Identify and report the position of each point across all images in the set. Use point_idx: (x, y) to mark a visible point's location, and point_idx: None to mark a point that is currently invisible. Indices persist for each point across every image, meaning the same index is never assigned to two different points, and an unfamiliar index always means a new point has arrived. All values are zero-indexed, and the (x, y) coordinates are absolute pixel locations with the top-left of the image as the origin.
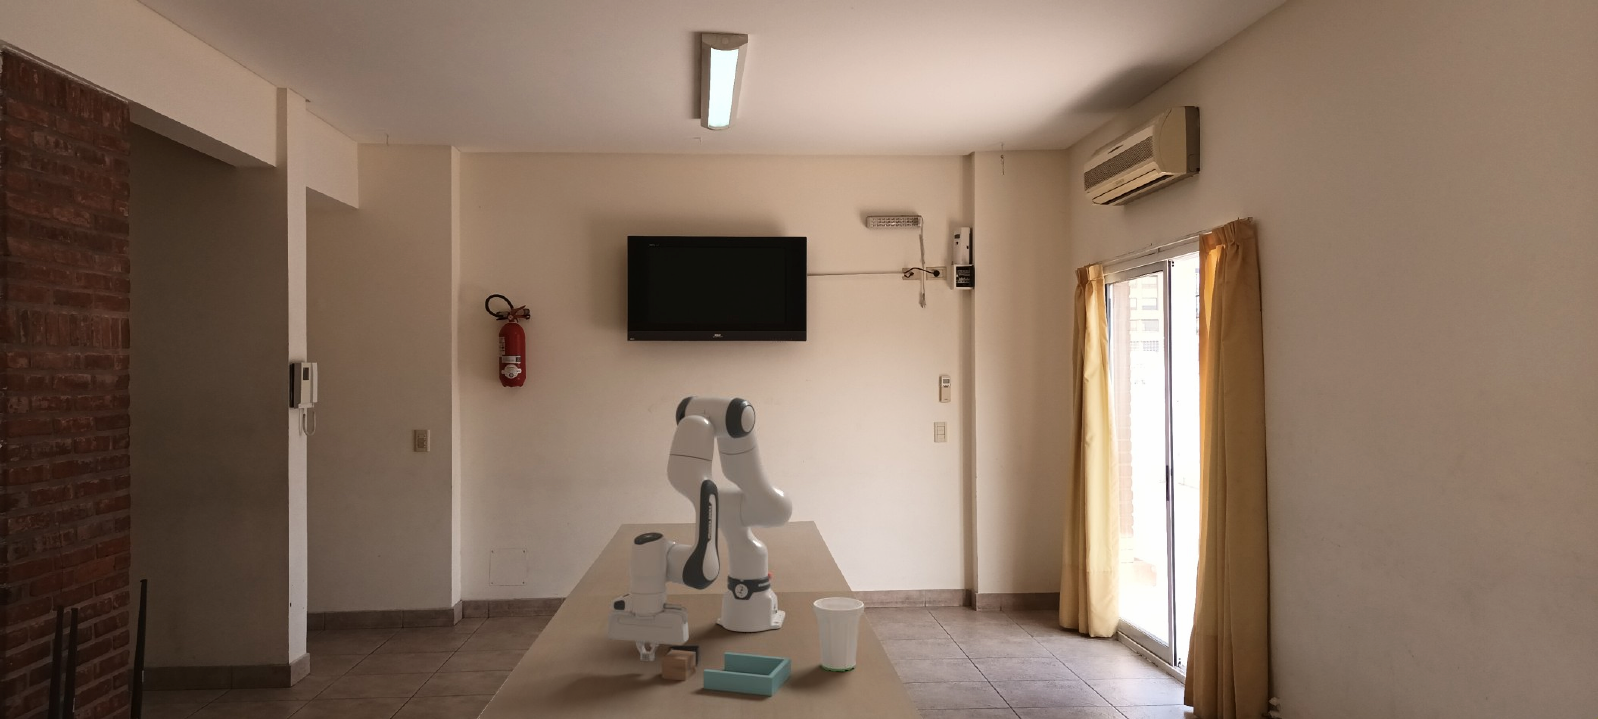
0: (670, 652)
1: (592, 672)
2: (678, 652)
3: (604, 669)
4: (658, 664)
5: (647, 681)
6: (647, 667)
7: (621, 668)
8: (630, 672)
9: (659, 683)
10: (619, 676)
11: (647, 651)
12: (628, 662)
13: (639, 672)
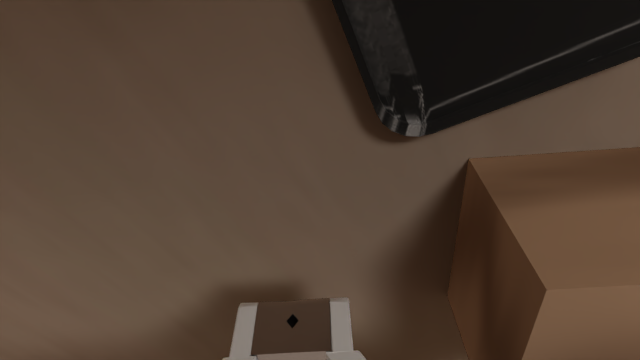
0: (541, 349)
1: (3, 338)
2: (635, 330)
3: (10, 289)
4: (288, 78)
5: (386, 349)
6: (245, 174)
7: (88, 246)
8: (203, 282)
9: (462, 351)
10: (193, 340)
11: (275, 354)
12: (6, 123)
13: (258, 267)
